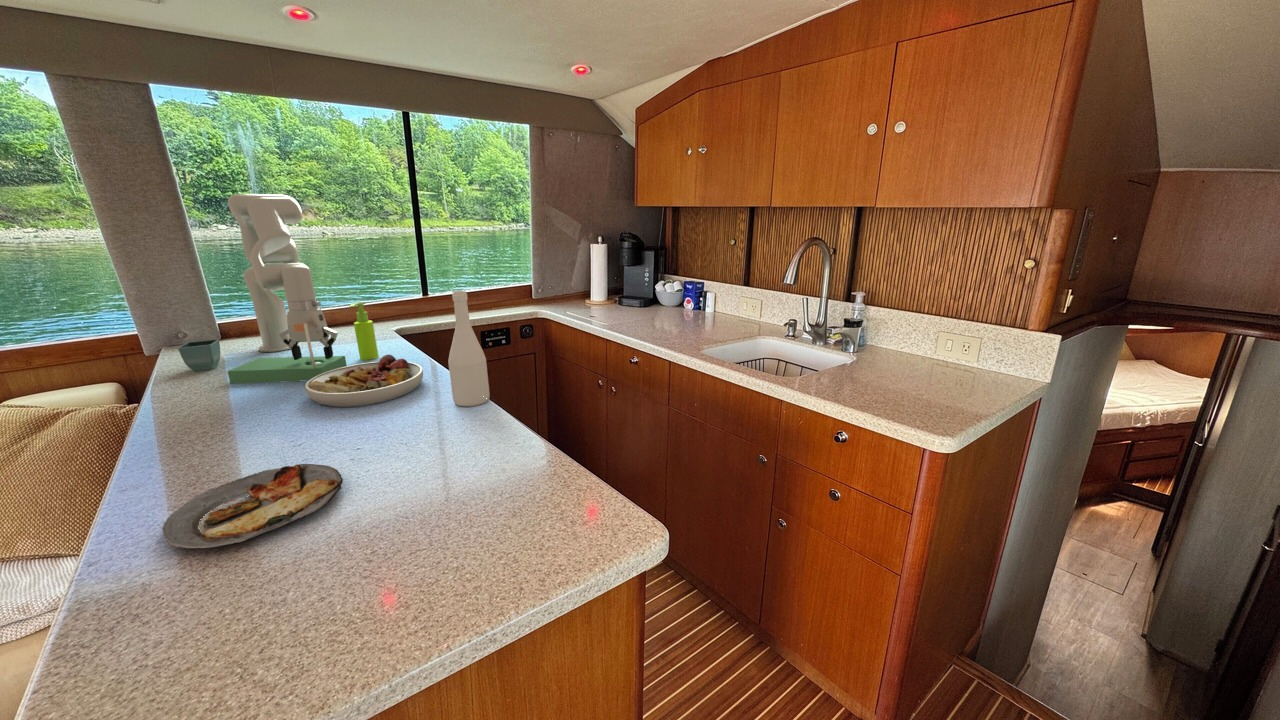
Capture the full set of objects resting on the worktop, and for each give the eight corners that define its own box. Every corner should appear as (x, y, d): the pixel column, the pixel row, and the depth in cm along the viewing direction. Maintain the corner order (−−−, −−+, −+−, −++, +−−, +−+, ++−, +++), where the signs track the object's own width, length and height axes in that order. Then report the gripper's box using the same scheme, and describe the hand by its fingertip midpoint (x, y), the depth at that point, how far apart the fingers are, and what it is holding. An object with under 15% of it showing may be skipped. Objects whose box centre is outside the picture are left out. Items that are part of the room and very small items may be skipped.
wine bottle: (467, 410, 129) (453, 295, 120) (446, 402, 135) (431, 292, 126) (497, 399, 136) (486, 290, 128) (476, 392, 142) (464, 288, 133)
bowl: (395, 411, 130) (390, 382, 128) (282, 411, 131) (275, 383, 128) (440, 375, 159) (437, 351, 157) (348, 376, 159) (344, 352, 157)
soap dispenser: (353, 360, 176) (343, 304, 170) (369, 354, 182) (359, 300, 177) (367, 361, 174) (357, 304, 169) (382, 355, 181) (373, 301, 175)
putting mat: (261, 369, 166) (248, 316, 161) (347, 367, 168) (337, 314, 162) (230, 383, 153) (215, 326, 148) (324, 380, 154) (312, 323, 149)
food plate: (317, 460, 103) (313, 445, 102) (366, 500, 89) (362, 483, 88) (155, 520, 85) (148, 502, 84) (185, 581, 71) (177, 561, 70)
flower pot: (194, 367, 170) (186, 341, 167) (225, 363, 174) (219, 338, 171) (184, 374, 162) (176, 347, 160) (217, 370, 166) (210, 344, 163)
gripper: (337, 303, 158) (347, 354, 163) (281, 304, 157) (293, 356, 162) (324, 307, 151) (335, 361, 156) (265, 308, 150) (278, 362, 155)
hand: (313, 358), depth 159 cm, fingers open, 9 cm apart
